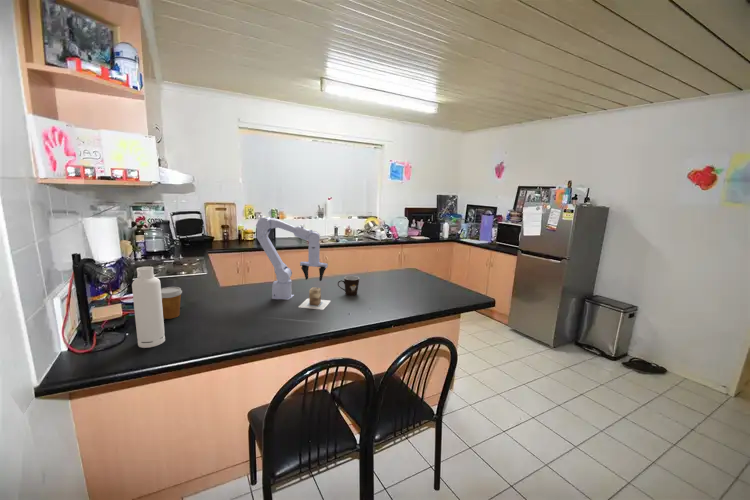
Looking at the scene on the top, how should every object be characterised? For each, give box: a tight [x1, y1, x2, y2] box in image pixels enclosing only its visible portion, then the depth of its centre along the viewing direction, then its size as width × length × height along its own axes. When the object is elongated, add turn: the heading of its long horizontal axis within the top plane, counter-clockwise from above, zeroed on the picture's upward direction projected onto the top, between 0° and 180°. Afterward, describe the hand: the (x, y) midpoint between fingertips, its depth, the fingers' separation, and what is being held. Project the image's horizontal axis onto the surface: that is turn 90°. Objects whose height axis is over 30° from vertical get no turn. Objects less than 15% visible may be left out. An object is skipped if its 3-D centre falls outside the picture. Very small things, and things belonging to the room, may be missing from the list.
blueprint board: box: [298, 297, 331, 311], centre depth 158 cm, size 13×13×1 cm
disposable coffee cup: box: [161, 286, 183, 320], centre depth 135 cm, size 10×10×12 cm
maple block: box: [308, 286, 322, 298], centre depth 156 cm, size 4×4×4 cm
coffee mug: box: [337, 275, 360, 297], centre depth 175 cm, size 12×9×10 cm
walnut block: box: [308, 295, 322, 306], centre depth 157 cm, size 4×4×4 cm
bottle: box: [131, 266, 166, 349], centre depth 111 cm, size 8×8×28 cm
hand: (313, 279), depth 165 cm, fingers open, 7 cm apart
